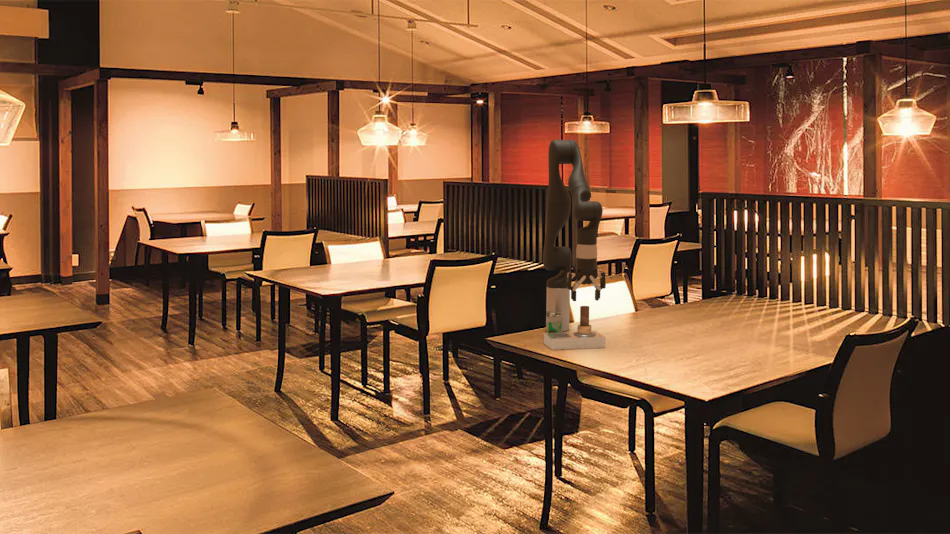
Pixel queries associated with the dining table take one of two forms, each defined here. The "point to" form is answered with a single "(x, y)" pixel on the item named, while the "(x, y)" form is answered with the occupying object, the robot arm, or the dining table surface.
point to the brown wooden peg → (584, 321)
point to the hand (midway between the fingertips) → (585, 300)
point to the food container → (554, 321)
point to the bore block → (573, 340)
